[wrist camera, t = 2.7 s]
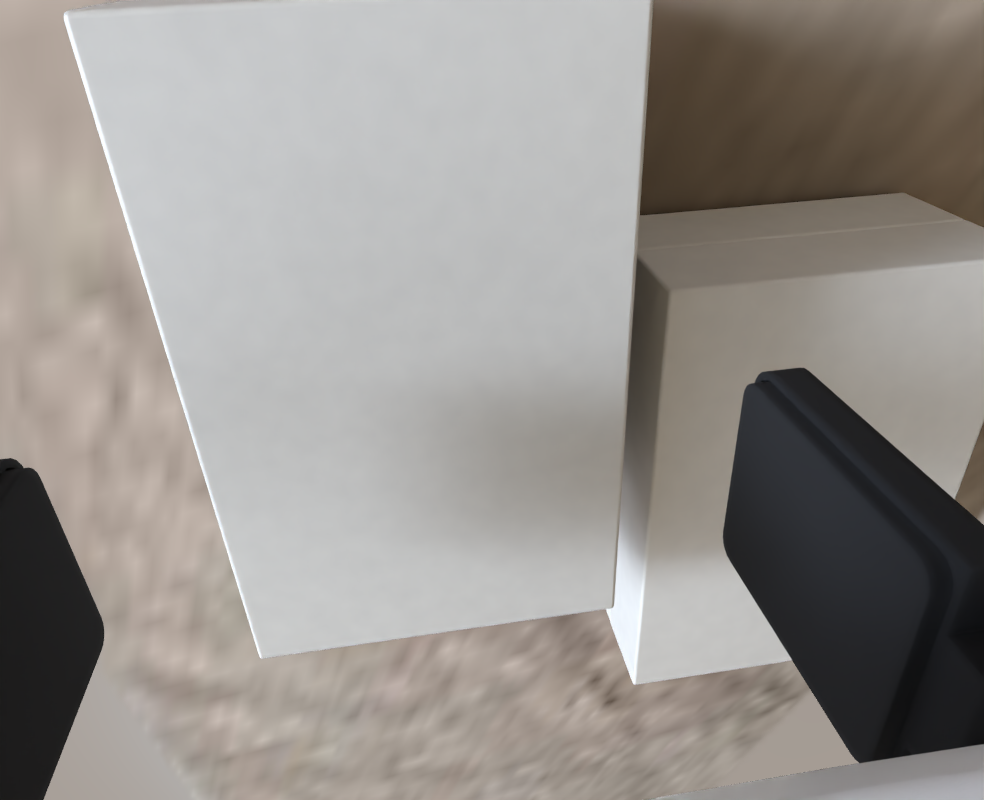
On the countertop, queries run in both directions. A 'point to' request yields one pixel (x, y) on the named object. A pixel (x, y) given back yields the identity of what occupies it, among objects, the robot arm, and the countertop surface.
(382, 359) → the white book
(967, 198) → the countertop surface
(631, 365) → the white books
